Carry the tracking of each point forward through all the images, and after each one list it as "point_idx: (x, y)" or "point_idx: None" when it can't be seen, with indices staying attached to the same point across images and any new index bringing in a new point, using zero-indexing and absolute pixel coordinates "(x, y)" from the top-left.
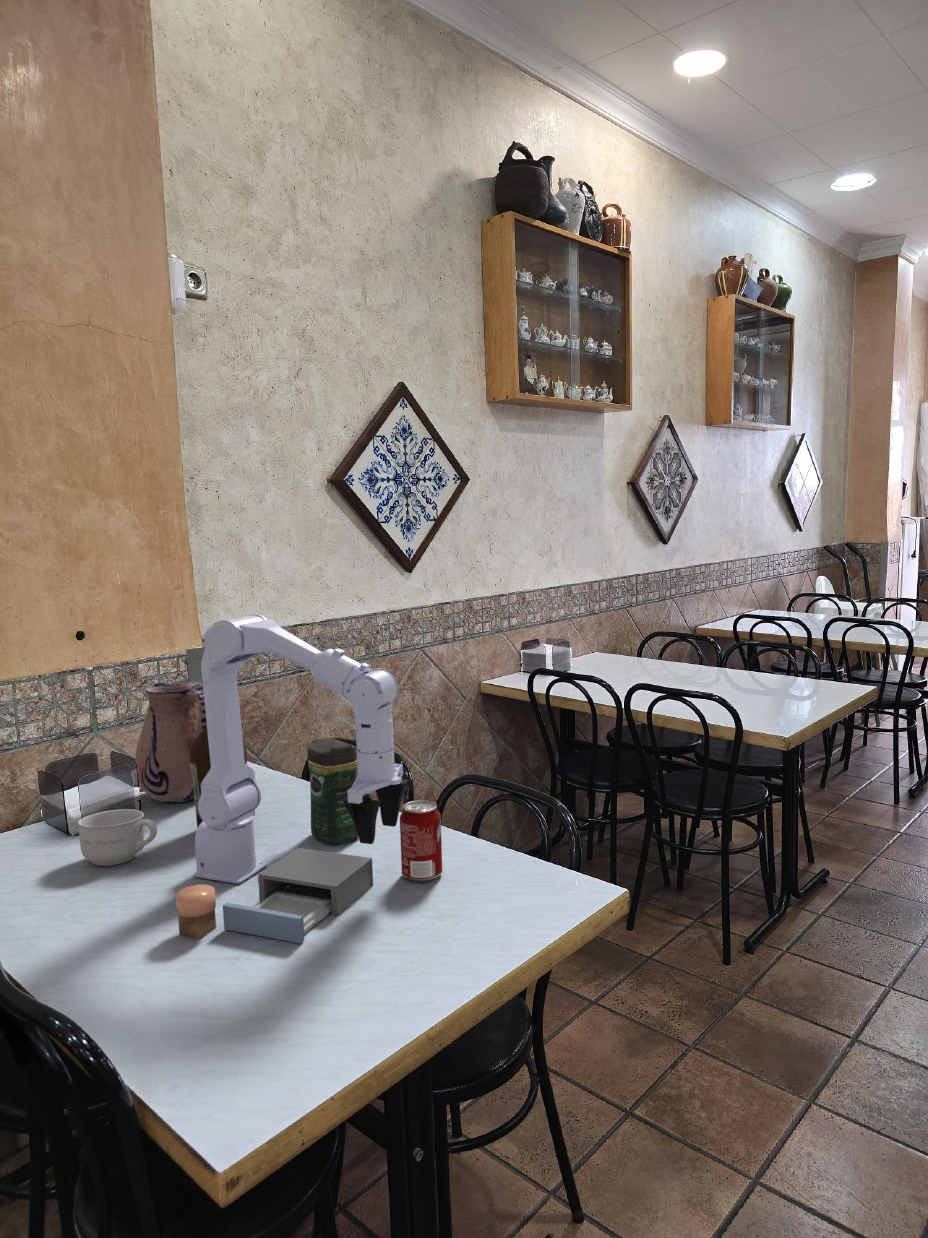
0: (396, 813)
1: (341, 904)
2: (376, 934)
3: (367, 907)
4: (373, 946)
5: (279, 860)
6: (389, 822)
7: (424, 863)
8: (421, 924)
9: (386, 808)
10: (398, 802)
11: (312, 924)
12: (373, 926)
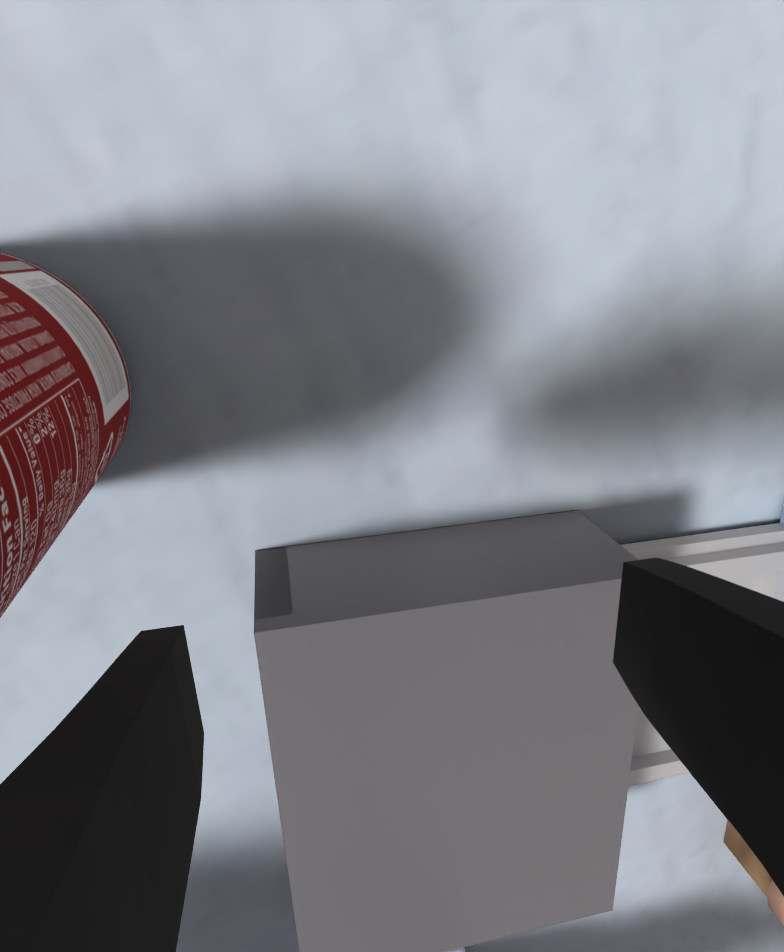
0: (140, 709)
1: (563, 529)
2: (684, 262)
3: (468, 444)
4: (779, 218)
5: (464, 946)
6: (187, 701)
7: (62, 318)
8: (550, 83)
9: (158, 877)
10: (74, 831)
11: (700, 539)
12: (622, 316)
